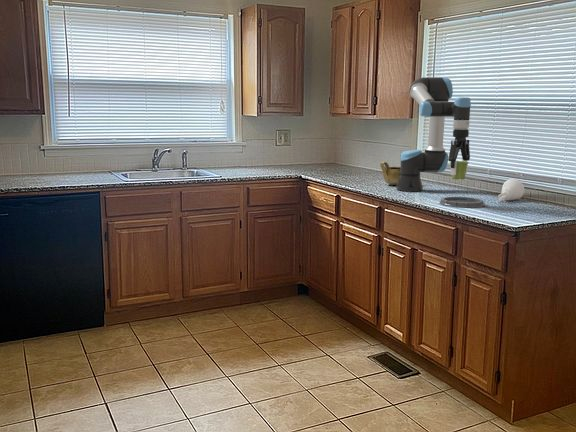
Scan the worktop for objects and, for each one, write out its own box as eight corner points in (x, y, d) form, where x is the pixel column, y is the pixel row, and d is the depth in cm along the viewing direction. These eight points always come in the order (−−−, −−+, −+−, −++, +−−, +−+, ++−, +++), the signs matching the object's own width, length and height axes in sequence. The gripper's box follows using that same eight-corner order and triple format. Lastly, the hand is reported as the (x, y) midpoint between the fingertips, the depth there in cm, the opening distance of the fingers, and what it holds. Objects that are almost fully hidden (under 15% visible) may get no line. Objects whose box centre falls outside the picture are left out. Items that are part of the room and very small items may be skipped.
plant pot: (445, 179, 297) (446, 161, 296) (453, 177, 304) (454, 160, 303) (463, 180, 291) (464, 163, 290) (470, 179, 299) (471, 161, 297)
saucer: (431, 203, 299) (431, 199, 298) (453, 199, 314) (453, 195, 314) (471, 209, 284) (471, 204, 283) (492, 204, 299) (492, 199, 298)
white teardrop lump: (502, 185, 300) (514, 174, 313) (485, 197, 308) (498, 186, 321) (517, 202, 299) (529, 191, 311) (500, 214, 307) (512, 203, 319)
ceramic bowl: (388, 187, 357) (389, 163, 354) (373, 184, 372) (374, 160, 369) (418, 186, 366) (419, 162, 363) (402, 182, 381) (403, 159, 378)
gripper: (456, 129, 283) (453, 176, 287) (479, 128, 299) (476, 173, 302) (442, 129, 289) (440, 174, 293) (465, 128, 304) (463, 172, 308)
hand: (458, 174), depth 297 cm, fingers closed on plant pot, 9 cm apart
